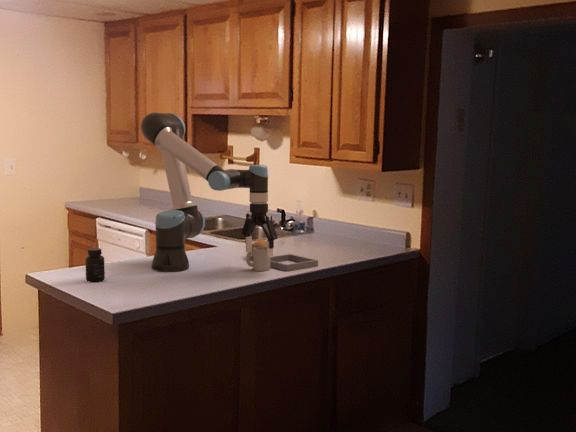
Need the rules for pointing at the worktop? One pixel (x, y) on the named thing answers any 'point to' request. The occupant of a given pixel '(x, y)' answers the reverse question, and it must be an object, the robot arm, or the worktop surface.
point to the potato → (259, 244)
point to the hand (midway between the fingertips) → (259, 254)
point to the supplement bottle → (95, 265)
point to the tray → (295, 266)
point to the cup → (259, 259)
